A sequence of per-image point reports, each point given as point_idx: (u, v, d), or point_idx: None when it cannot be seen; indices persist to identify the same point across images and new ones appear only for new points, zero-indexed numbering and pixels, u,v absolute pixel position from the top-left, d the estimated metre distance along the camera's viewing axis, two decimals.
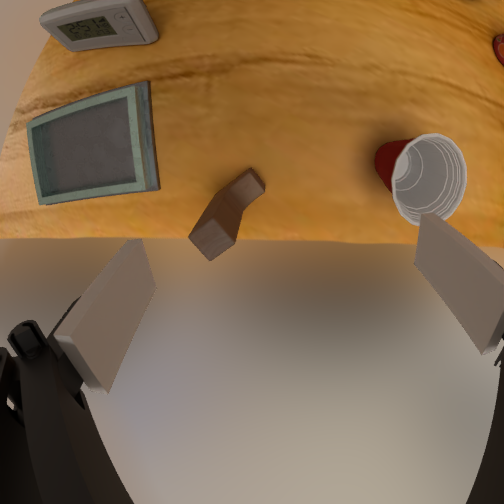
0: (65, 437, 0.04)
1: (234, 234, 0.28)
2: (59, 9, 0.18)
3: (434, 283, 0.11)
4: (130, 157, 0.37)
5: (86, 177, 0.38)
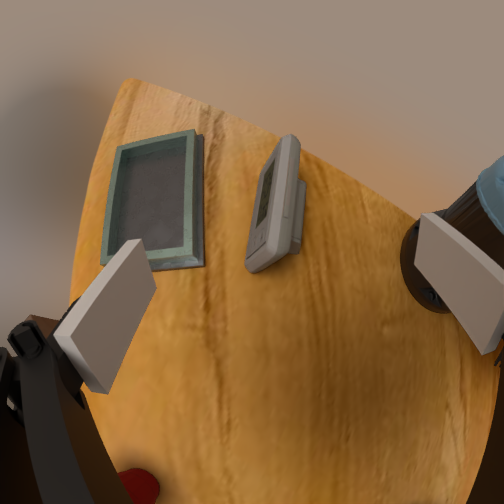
0: (65, 437, 0.04)
1: None
2: (289, 159, 0.32)
3: (434, 283, 0.11)
4: None
5: (128, 199, 0.43)
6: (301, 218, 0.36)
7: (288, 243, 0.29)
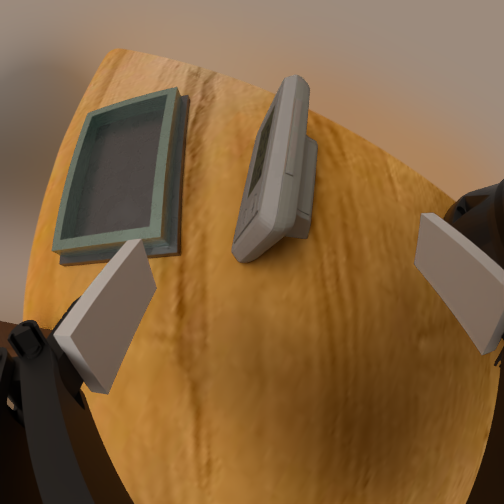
0: (65, 437, 0.04)
1: None
2: (295, 101, 0.21)
3: (434, 283, 0.11)
4: (94, 230, 0.30)
5: (94, 172, 0.33)
6: (312, 186, 0.25)
7: (293, 213, 0.19)
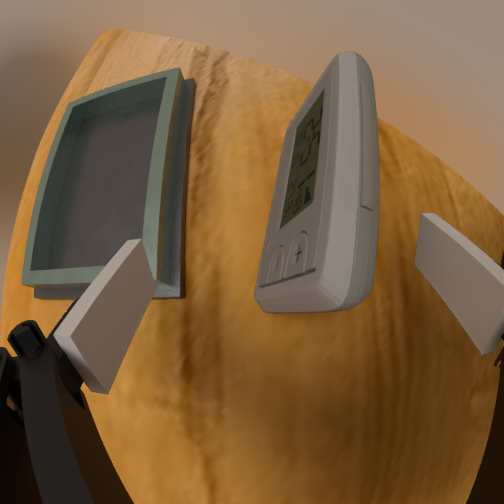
0: (65, 437, 0.04)
1: None
2: (360, 86, 0.13)
3: (434, 283, 0.11)
4: (72, 257, 0.22)
5: (73, 178, 0.25)
6: None
7: (371, 275, 0.11)
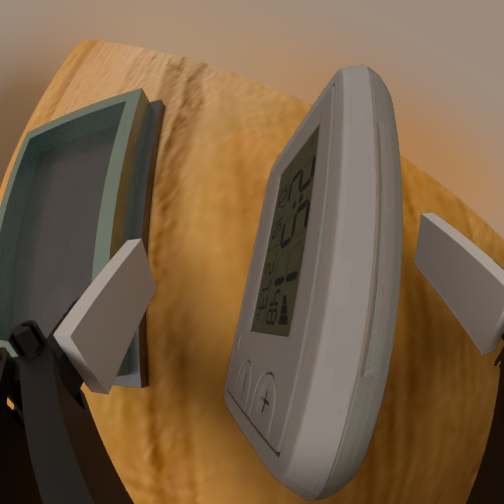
0: (65, 437, 0.04)
1: None
2: (377, 128, 0.08)
3: (434, 283, 0.11)
4: None
5: (29, 227, 0.20)
6: None
7: (361, 459, 0.06)
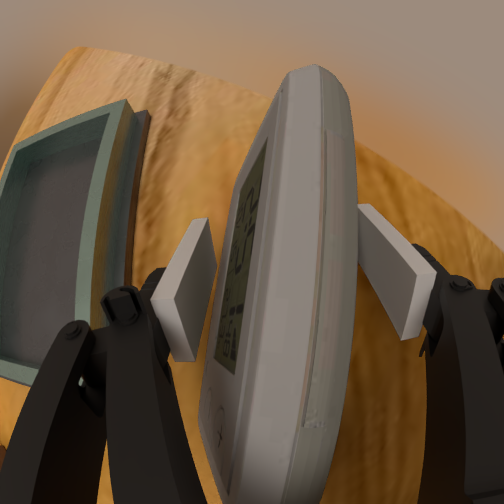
0: (156, 416, 0.05)
1: None
2: (324, 138, 0.07)
3: (366, 271, 0.12)
4: (20, 340, 0.16)
5: (17, 242, 0.19)
6: None
7: (316, 500, 0.05)
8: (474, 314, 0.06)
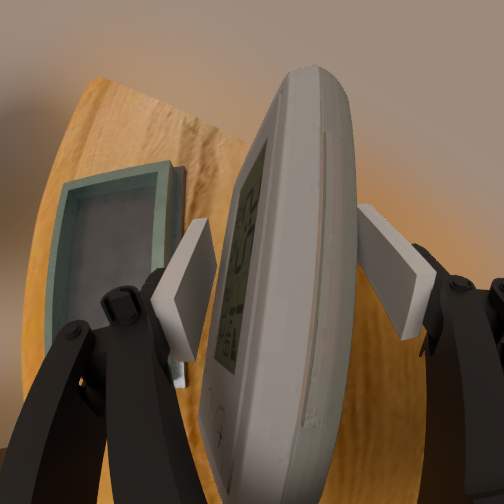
0: (156, 416, 0.05)
1: None
2: (324, 139, 0.08)
3: (366, 271, 0.12)
4: None
5: (78, 268, 0.28)
6: None
7: (316, 500, 0.05)
8: (474, 314, 0.06)
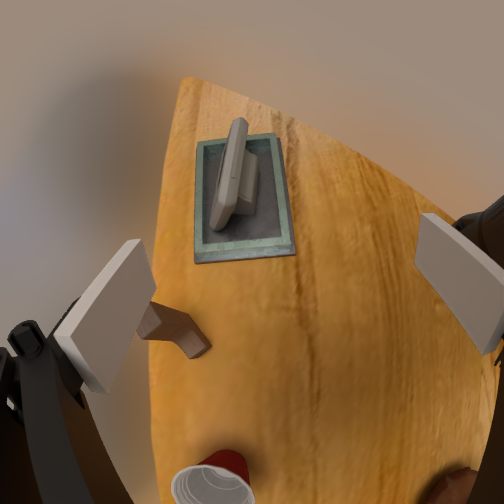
0: (65, 437, 0.04)
1: (149, 338, 0.30)
2: (237, 135, 0.40)
3: (434, 283, 0.11)
4: (226, 237, 0.46)
5: None
6: (252, 183, 0.44)
7: (235, 197, 0.37)
8: None
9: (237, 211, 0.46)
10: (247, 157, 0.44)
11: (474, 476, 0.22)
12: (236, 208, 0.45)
